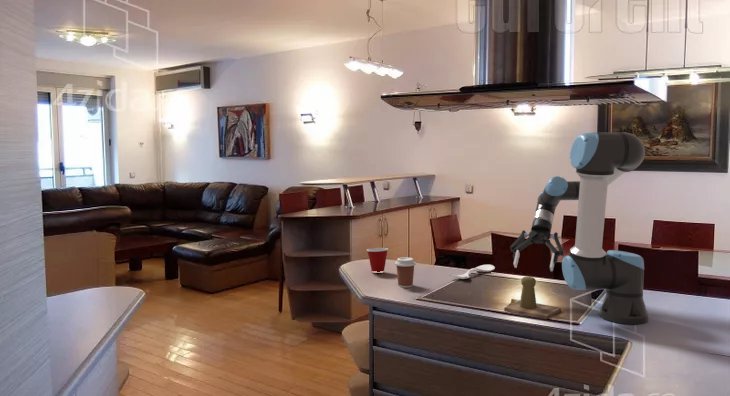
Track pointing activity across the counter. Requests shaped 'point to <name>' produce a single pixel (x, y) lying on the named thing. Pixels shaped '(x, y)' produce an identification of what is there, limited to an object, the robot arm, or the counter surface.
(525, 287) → the cork
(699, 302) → the counter surface
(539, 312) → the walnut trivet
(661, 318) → the counter surface
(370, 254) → the plastic cup
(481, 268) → the spoon
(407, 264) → the coffee cup
